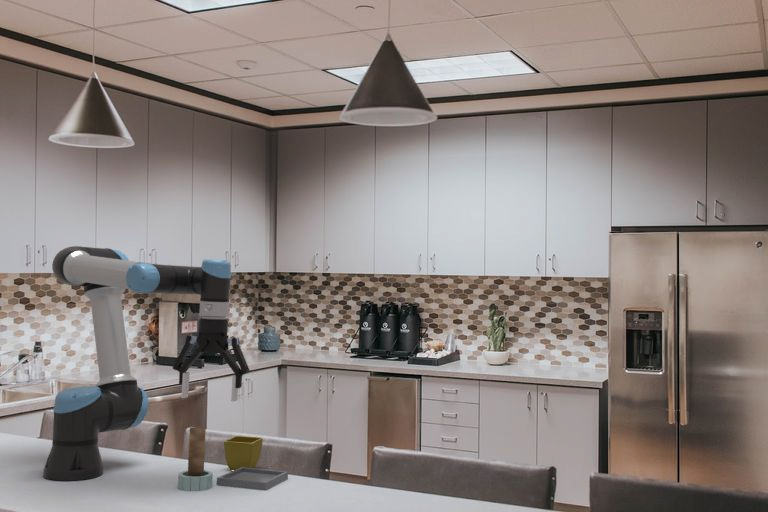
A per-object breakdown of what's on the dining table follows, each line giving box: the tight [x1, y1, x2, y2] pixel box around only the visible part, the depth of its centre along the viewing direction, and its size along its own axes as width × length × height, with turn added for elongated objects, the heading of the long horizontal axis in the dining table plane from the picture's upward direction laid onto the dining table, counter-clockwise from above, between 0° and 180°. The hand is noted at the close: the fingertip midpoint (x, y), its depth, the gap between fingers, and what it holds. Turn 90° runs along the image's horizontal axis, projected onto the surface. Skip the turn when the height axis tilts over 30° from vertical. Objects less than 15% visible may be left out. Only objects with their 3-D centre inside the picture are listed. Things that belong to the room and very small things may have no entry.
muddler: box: [187, 426, 207, 477], centre depth 199 cm, size 4×4×15 cm
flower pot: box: [223, 435, 264, 471], centre depth 222 cm, size 9×9×9 cm
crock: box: [177, 469, 214, 492], centre depth 199 cm, size 8×8×4 cm
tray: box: [216, 467, 289, 491], centre depth 206 cm, size 14×14×2 cm
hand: (209, 399), depth 202 cm, fingers open, 13 cm apart
